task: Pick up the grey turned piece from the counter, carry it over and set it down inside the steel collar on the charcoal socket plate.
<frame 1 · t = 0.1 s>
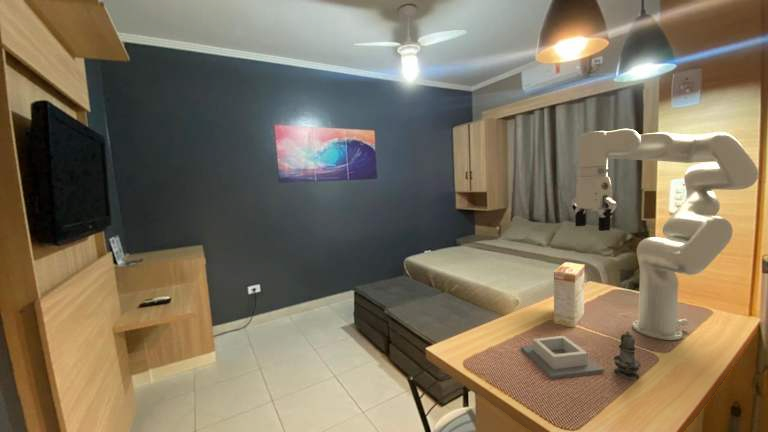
hand: (591, 228, 97), 37 cm above the table, tool pointing down, fingers open, 9 cm apart
socket: (558, 360, 91), on the table
coffeecake box: (569, 318, 117), on the table
grey turned piece: (626, 374, 83), on the table
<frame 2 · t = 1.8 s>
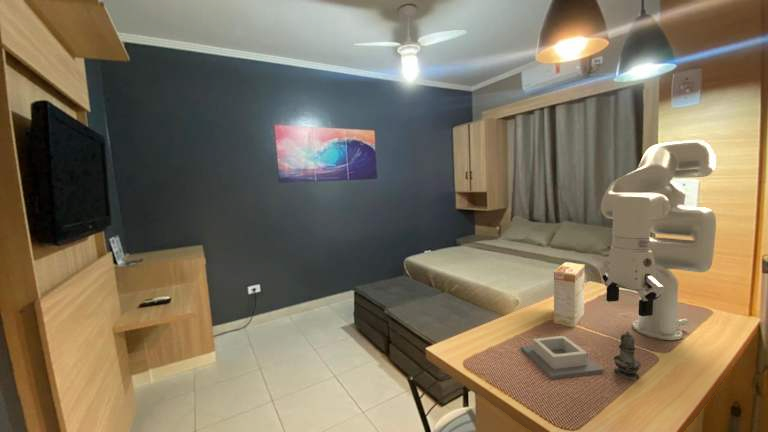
hand: (628, 307, 81), 19 cm above the table, tool pointing down, fingers open, 9 cm apart
nothing on the table moved.
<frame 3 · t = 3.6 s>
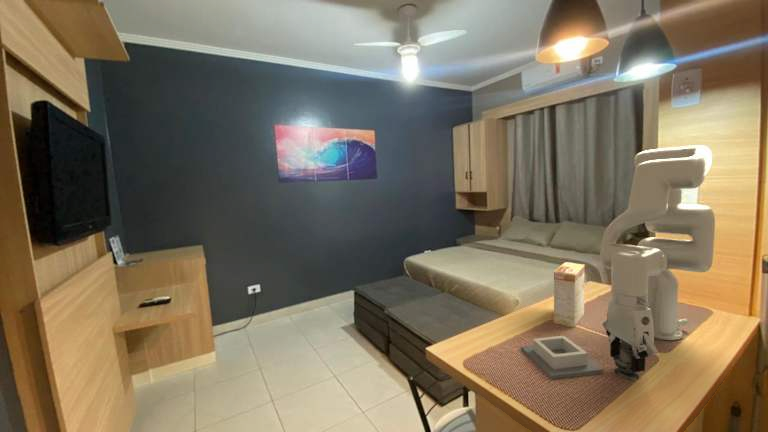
hand: (626, 362, 83), 3 cm above the table, tool pointing down, fingers closed on grey turned piece, 5 cm apart
grey turned piece: (626, 374, 83), on the table, touching gripper
everything else where it was.
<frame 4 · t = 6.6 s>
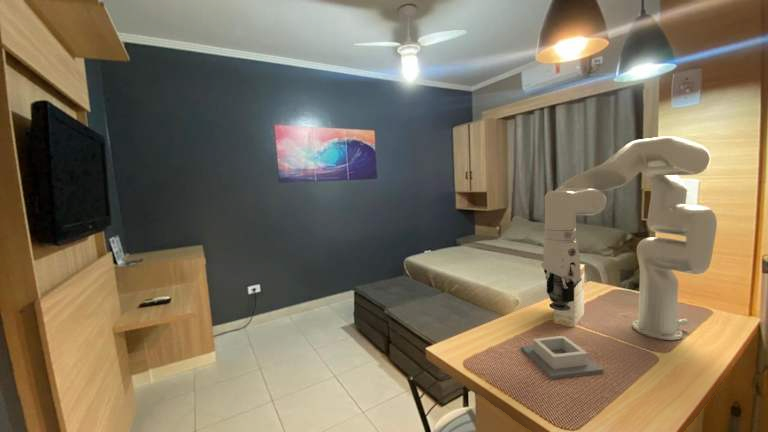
hand: (559, 296, 89), 19 cm above the table, tool pointing down, fingers closed on grey turned piece, 5 cm apart
grey turned piece: (559, 307, 89), point 16 cm above the table, touching gripper
everything else where it was.
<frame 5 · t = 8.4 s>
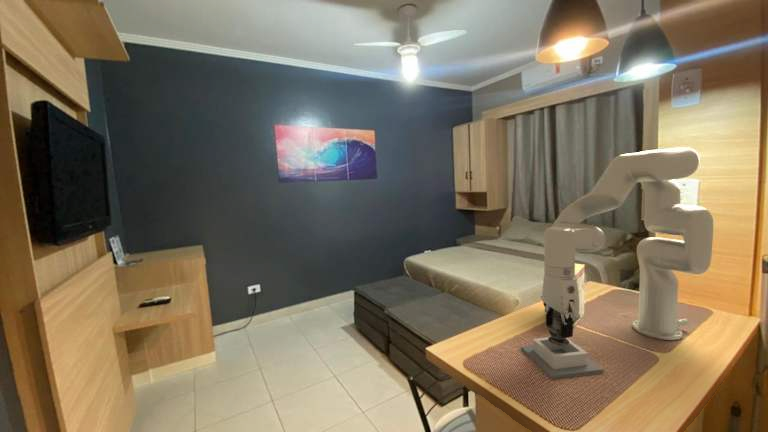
hand: (558, 330, 90), 9 cm above the table, tool pointing down, fingers closed on grey turned piece, 5 cm apart
grey turned piece: (558, 341, 90), point 6 cm above the table, touching gripper
everything else where it was.
when the fingers open (6 cm above the table, at t = 9.6 s): grey turned piece drops 2 cm, resting on socket.
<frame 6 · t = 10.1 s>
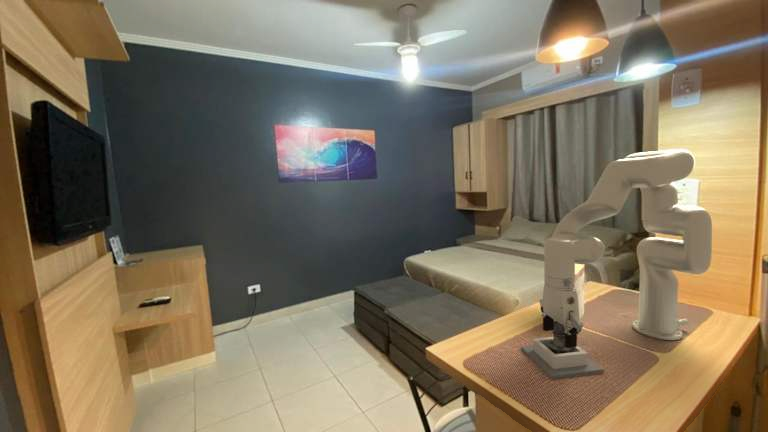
hand: (559, 338, 90), 7 cm above the table, tool pointing down, fingers open, 9 cm apart
grey turned piece: (559, 357, 91), point 1 cm above the table, touching socket
everything else where it was.
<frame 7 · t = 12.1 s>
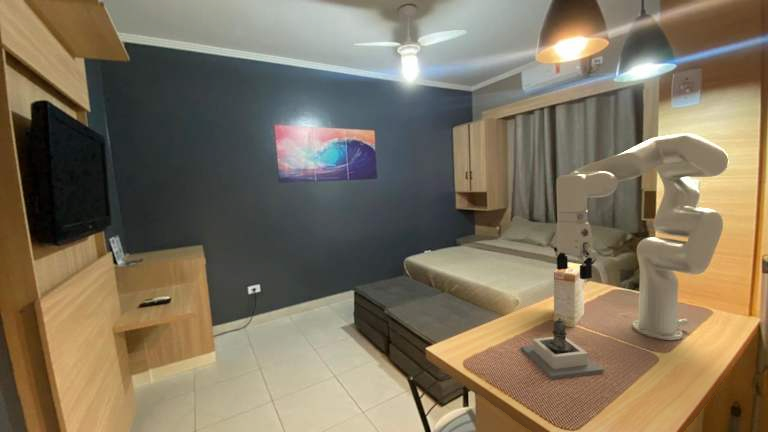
hand: (573, 273, 93), 24 cm above the table, tool pointing down, fingers open, 9 cm apart
nothing on the table moved.
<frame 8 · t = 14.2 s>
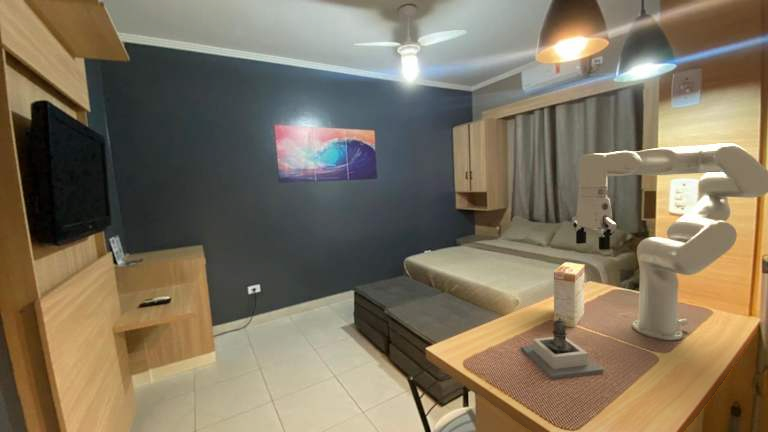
hand: (592, 246, 100), 30 cm above the table, tool pointing down, fingers open, 9 cm apart
nothing on the table moved.
at the end: grey turned piece 0.2 cm off-centre on the socket, point 0.8 cm above the socket's base; grey turned piece tilted 0°; the gripper is holding nothing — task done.
